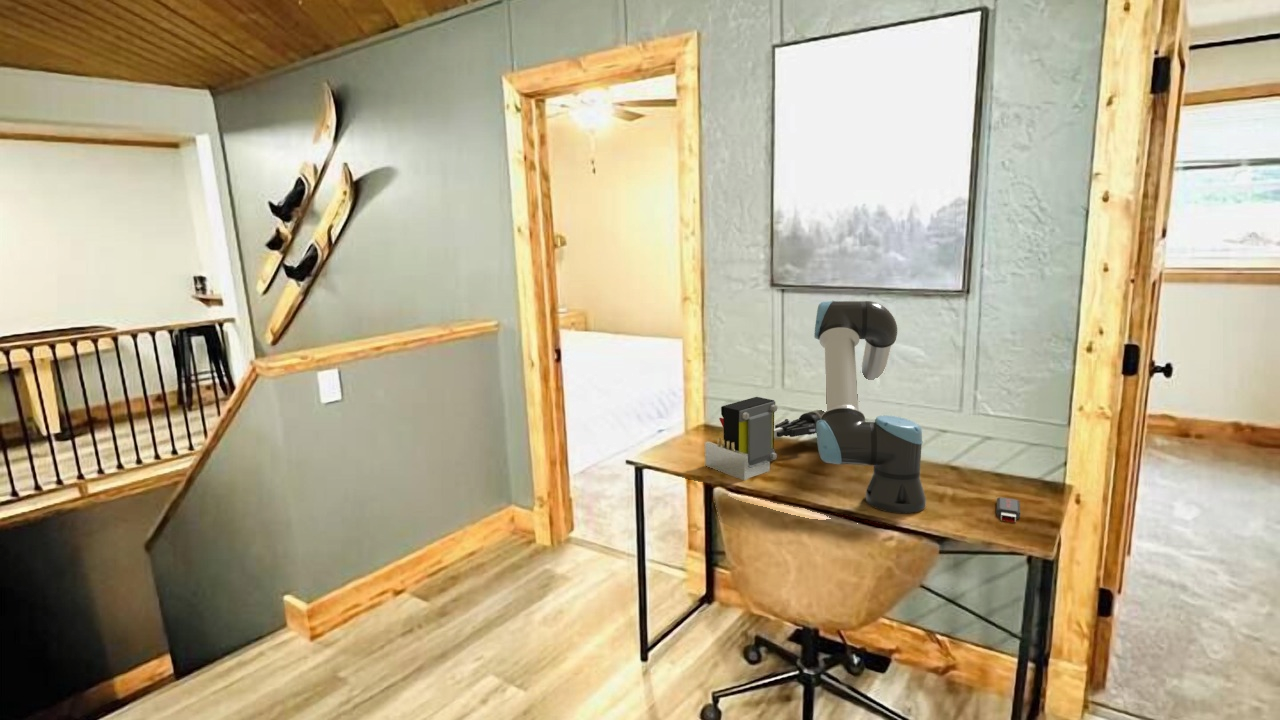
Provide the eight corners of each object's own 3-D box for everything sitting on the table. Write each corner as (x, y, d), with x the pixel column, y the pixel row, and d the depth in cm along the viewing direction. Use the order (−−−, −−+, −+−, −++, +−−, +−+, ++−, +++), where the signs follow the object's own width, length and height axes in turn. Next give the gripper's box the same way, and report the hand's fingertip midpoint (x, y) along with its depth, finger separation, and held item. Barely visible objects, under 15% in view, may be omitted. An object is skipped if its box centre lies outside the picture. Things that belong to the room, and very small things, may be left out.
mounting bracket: (770, 471, 203) (771, 439, 201) (744, 480, 196) (744, 447, 194) (731, 458, 217) (731, 427, 215) (705, 466, 209) (705, 435, 207)
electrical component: (743, 474, 201) (743, 411, 198) (719, 466, 209) (719, 405, 205) (779, 461, 213) (779, 401, 209) (754, 453, 220) (754, 396, 217)
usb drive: (1018, 507, 173) (1019, 498, 173) (1019, 525, 163) (1020, 514, 162) (996, 504, 176) (997, 494, 175) (996, 521, 165) (997, 511, 165)
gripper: (828, 436, 223) (783, 451, 209) (798, 428, 234) (753, 442, 219) (829, 415, 222) (784, 428, 208) (798, 408, 232) (753, 420, 218)
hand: (768, 435), depth 214 cm, fingers closed
